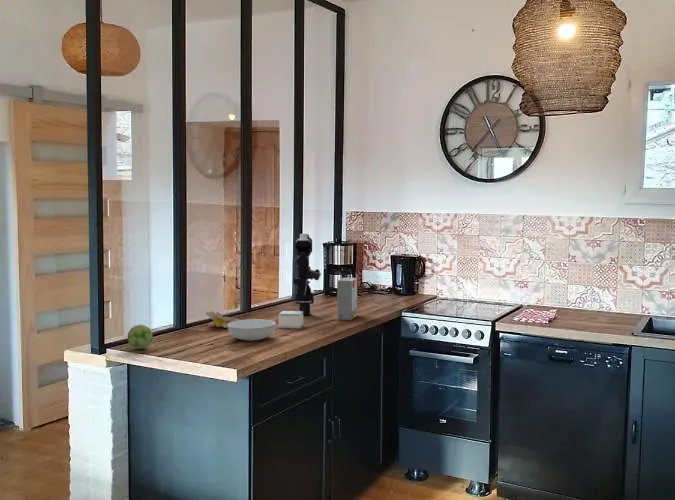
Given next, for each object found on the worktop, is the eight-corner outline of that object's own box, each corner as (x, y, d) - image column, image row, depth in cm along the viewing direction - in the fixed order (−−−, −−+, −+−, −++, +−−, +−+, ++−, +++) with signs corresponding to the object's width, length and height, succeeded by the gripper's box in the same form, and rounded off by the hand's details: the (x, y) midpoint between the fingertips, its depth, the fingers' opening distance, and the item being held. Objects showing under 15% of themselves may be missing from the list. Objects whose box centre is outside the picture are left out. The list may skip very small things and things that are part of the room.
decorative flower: (245, 323, 326) (240, 303, 324) (228, 332, 317) (223, 312, 315) (223, 321, 335) (218, 302, 333) (206, 330, 327) (201, 311, 325)
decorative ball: (122, 349, 277) (122, 325, 276) (142, 345, 285) (141, 321, 284) (139, 352, 271) (138, 328, 270) (158, 348, 279) (157, 324, 279)
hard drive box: (351, 320, 341) (351, 281, 340) (336, 320, 343) (336, 280, 341) (357, 315, 357) (357, 277, 355) (342, 314, 358) (342, 277, 357)
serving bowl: (223, 336, 304) (223, 320, 304) (269, 332, 312) (268, 317, 311) (233, 345, 285) (232, 329, 284) (281, 341, 292) (281, 325, 292)
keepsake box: (282, 324, 330) (282, 312, 330) (303, 325, 329) (303, 313, 328) (279, 327, 322) (278, 315, 322) (299, 328, 321) (299, 315, 321)
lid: (282, 312, 330) (282, 310, 330) (303, 312, 328) (303, 311, 328) (278, 315, 322) (278, 313, 322) (299, 315, 321) (299, 314, 320)
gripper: (315, 267, 326) (315, 299, 328) (322, 262, 345) (322, 293, 346) (292, 267, 328) (293, 299, 330) (301, 262, 346) (301, 293, 348)
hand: (303, 296), depth 338 cm, fingers closed
